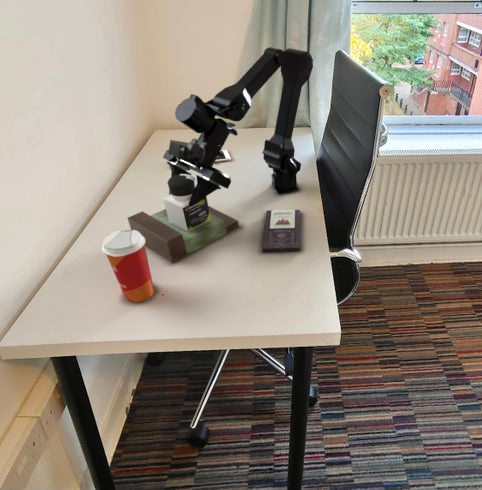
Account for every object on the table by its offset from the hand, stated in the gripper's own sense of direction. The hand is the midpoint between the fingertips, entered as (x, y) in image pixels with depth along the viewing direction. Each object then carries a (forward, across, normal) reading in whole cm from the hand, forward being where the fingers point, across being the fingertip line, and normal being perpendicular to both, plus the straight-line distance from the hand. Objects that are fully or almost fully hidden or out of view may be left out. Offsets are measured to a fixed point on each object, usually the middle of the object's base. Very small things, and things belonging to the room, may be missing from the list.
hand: (180, 200), depth 104 cm
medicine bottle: (+4, 0, +6) cm, 7 cm away
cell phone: (-15, -35, +30) cm, 49 cm away
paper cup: (+21, +10, -6) cm, 24 cm away
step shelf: (+7, -2, +8) cm, 11 cm away
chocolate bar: (-4, +16, +20) cm, 26 cm away
